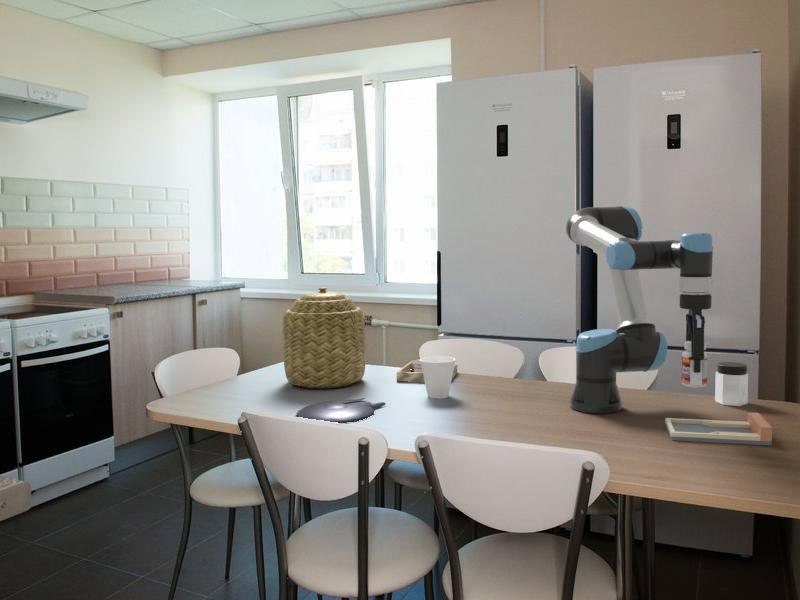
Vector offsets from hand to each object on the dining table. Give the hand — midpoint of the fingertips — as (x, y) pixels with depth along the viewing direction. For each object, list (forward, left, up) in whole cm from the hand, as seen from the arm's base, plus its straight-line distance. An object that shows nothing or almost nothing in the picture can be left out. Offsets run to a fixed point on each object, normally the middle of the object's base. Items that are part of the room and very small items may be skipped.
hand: (693, 381), depth 178 cm
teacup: (-87, +58, -14) cm, 105 cm away
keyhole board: (+5, 0, -14) cm, 15 cm away
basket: (-119, +43, -14) cm, 127 cm away
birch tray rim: (-84, +58, -14) cm, 103 cm away
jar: (+16, +36, -14) cm, 42 cm away
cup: (-74, +29, -14) cm, 81 cm away
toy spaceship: (-99, +4, -15) cm, 100 cm away
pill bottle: (0, 0, -1) cm, 1 cm away
